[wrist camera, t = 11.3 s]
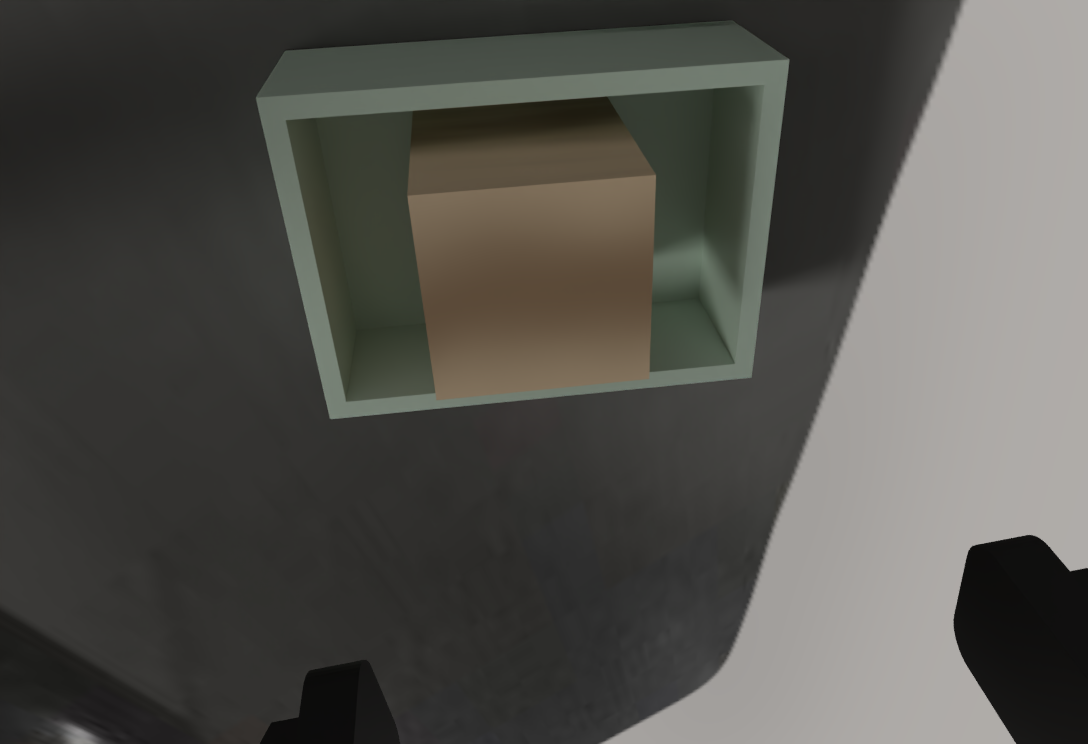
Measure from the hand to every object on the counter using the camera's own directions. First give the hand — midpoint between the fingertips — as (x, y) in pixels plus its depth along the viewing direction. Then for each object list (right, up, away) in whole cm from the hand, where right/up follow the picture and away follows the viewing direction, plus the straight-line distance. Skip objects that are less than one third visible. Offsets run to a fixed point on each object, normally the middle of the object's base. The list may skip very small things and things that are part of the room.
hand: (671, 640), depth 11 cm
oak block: (-3, +9, +16) cm, 19 cm away
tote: (-2, +10, +17) cm, 20 cm away
